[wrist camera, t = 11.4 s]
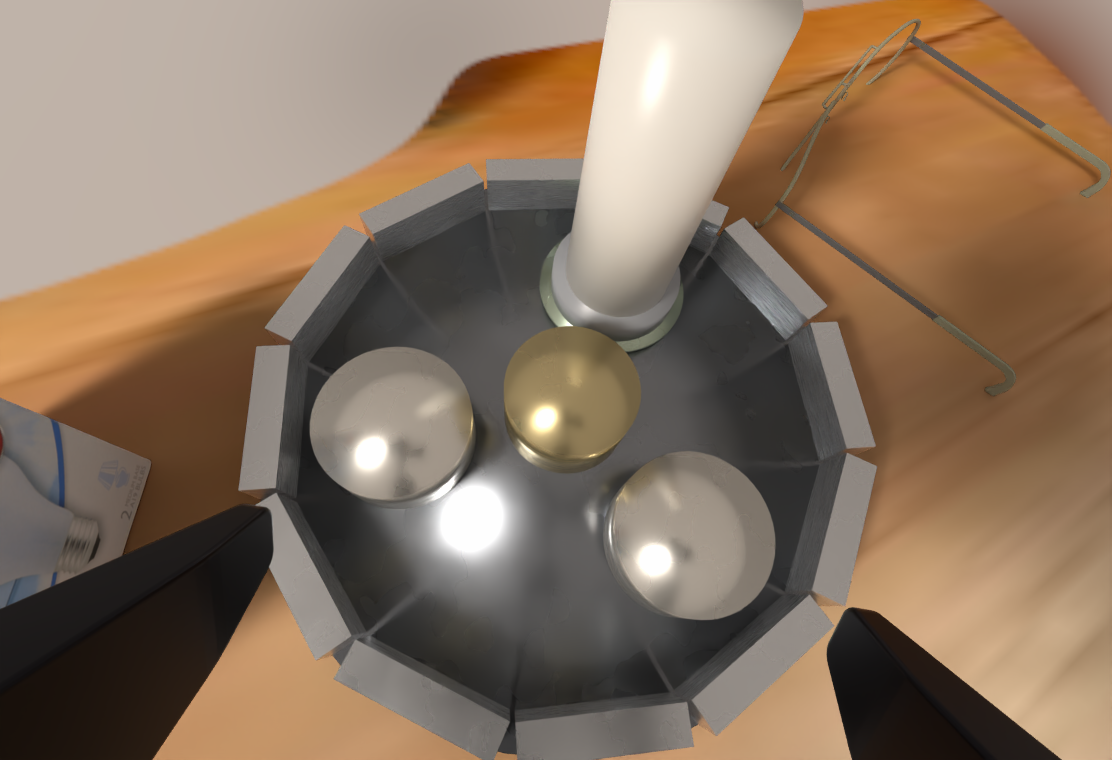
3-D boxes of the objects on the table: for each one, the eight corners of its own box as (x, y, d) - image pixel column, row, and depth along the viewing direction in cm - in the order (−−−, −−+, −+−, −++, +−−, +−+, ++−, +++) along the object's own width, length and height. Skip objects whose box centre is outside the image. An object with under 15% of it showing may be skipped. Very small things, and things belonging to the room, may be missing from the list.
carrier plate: (907, 707, 21) (1000, 732, 17) (234, 792, 18) (159, 844, 14) (763, 195, 29) (802, 134, 26) (297, 203, 27) (261, 135, 23)
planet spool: (697, 302, 25) (874, 25, 13) (600, 364, 23) (697, 113, 11) (623, 216, 26) (719, -105, 14) (526, 269, 25) (544, -42, 13)
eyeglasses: (856, 73, 34) (909, -9, 30) (1082, 201, 32) (1179, 133, 27) (727, 231, 29) (769, 161, 24) (988, 400, 26) (1089, 358, 22)
